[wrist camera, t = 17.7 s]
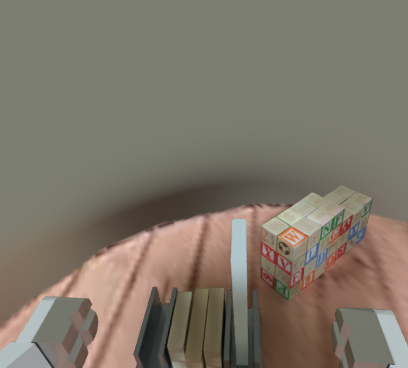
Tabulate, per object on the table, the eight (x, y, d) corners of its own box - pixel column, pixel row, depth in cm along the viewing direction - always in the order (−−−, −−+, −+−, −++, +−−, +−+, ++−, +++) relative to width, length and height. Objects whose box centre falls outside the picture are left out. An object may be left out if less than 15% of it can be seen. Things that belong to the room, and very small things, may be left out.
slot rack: (259, 312, 49) (260, 287, 46) (263, 391, 40) (264, 367, 37) (154, 308, 51) (147, 283, 48) (134, 381, 42) (124, 358, 39)
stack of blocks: (334, 222, 64) (344, 170, 57) (364, 238, 60) (378, 184, 53) (259, 278, 54) (260, 224, 47) (288, 302, 50) (294, 247, 43)
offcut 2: (211, 309, 49) (208, 288, 46) (204, 378, 41) (201, 358, 38) (198, 308, 49) (195, 288, 46) (189, 377, 41) (184, 357, 38)
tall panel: (247, 323, 46) (246, 219, 35) (248, 365, 42) (246, 260, 30) (237, 322, 47) (232, 219, 36) (236, 364, 42) (230, 260, 31)
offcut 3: (226, 313, 48) (224, 287, 45) (222, 375, 41) (220, 351, 37) (212, 312, 48) (209, 287, 45) (207, 374, 41) (203, 350, 38)
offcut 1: (195, 314, 48) (191, 291, 45) (188, 369, 42) (182, 347, 39) (182, 314, 49) (178, 291, 46) (173, 368, 42) (167, 346, 39)
